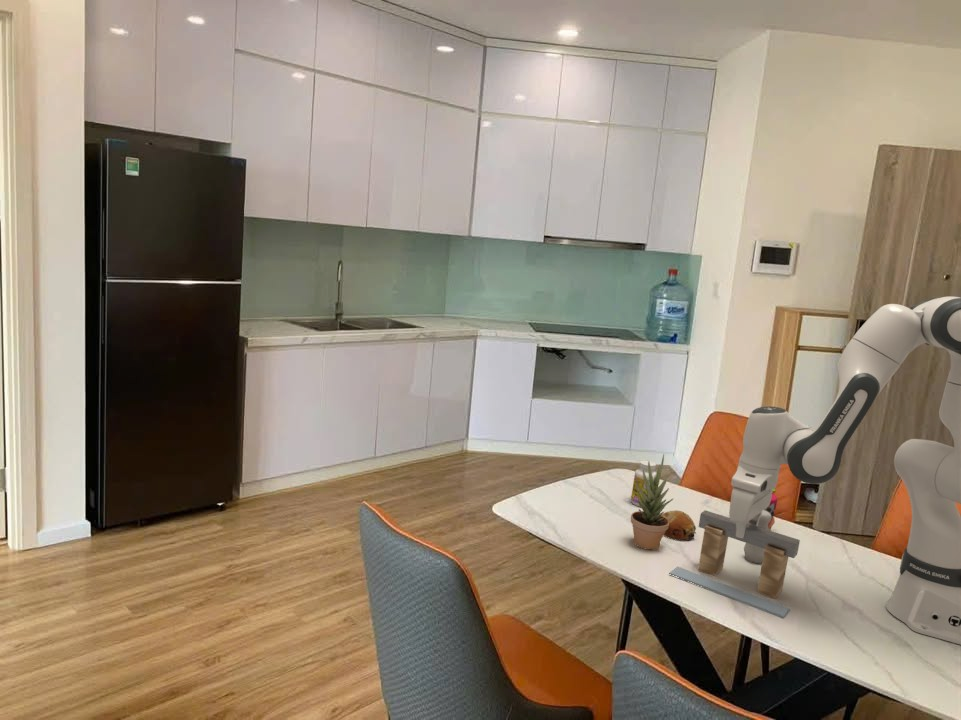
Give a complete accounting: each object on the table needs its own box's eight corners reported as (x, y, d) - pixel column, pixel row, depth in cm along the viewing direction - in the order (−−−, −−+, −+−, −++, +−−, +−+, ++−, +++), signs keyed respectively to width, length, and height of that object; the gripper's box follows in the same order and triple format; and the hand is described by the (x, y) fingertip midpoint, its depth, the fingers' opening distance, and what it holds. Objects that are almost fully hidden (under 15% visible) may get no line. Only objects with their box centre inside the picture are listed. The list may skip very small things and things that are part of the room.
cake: (775, 539, 198) (785, 487, 195) (735, 533, 200) (744, 481, 197) (767, 525, 208) (776, 476, 206) (729, 519, 210) (737, 470, 207)
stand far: (722, 568, 176) (730, 525, 174) (714, 576, 171) (721, 531, 169) (706, 562, 178) (713, 520, 176) (697, 570, 174) (705, 526, 172)
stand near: (782, 589, 168) (790, 544, 166) (774, 598, 163) (783, 552, 161) (764, 583, 170) (772, 539, 168) (756, 592, 165) (765, 546, 163)
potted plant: (635, 552, 180) (649, 457, 176) (622, 536, 189) (635, 446, 185) (672, 553, 182) (687, 459, 177) (658, 537, 191) (671, 448, 187)
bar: (797, 554, 164) (799, 540, 163) (793, 558, 161) (796, 543, 161) (702, 523, 177) (705, 510, 176) (698, 526, 174) (700, 513, 174)
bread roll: (683, 540, 200) (679, 510, 202) (705, 539, 191) (702, 508, 193) (652, 541, 197) (649, 511, 199) (673, 541, 188) (670, 509, 190)
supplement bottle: (627, 499, 218) (633, 458, 216) (648, 500, 219) (654, 459, 217) (634, 507, 211) (640, 465, 209) (656, 509, 212) (662, 467, 210)
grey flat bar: (789, 610, 158) (790, 608, 158) (783, 618, 154) (784, 616, 154) (677, 568, 173) (677, 566, 173) (668, 574, 169) (669, 572, 169)
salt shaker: (768, 566, 180) (777, 517, 178) (744, 562, 181) (752, 513, 179) (764, 557, 185) (772, 509, 183) (740, 553, 186) (749, 505, 184)
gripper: (756, 463, 176) (746, 517, 179) (729, 479, 160) (718, 538, 162) (783, 471, 173) (772, 525, 175) (758, 488, 156) (746, 548, 159)
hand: (746, 531), depth 169 cm, fingers open, 8 cm apart
